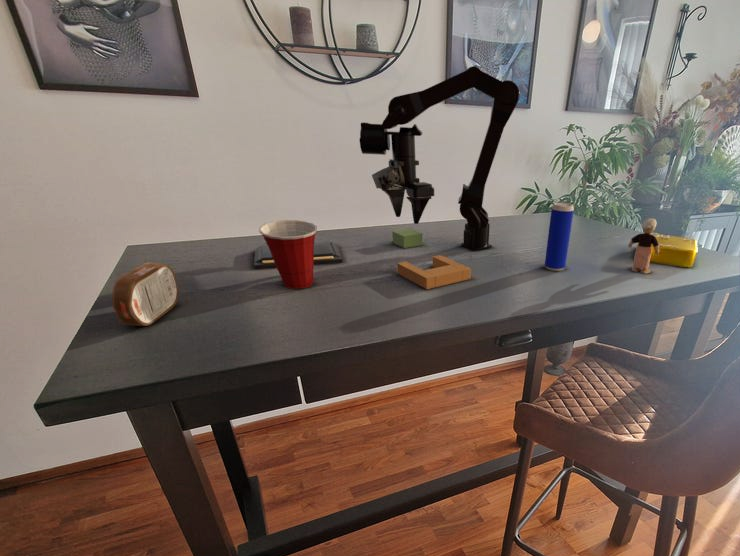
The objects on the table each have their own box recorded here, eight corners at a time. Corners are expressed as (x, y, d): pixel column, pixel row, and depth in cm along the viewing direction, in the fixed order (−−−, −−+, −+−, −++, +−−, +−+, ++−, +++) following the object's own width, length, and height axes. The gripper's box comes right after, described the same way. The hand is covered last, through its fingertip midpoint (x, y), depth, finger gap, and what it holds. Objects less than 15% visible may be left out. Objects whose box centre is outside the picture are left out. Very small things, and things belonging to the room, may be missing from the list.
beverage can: (564, 265, 112) (573, 203, 104) (565, 272, 108) (575, 207, 100) (544, 264, 113) (551, 201, 104) (544, 270, 108) (552, 205, 100)
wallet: (336, 238, 117) (342, 255, 105) (337, 245, 118) (343, 263, 106) (254, 242, 111) (250, 260, 99) (256, 250, 112) (252, 268, 100)
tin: (169, 299, 84) (153, 255, 79) (187, 299, 84) (172, 255, 79) (122, 335, 71) (100, 285, 67) (143, 335, 71) (122, 285, 67)
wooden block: (440, 265, 108) (440, 254, 107) (470, 279, 101) (470, 268, 99) (397, 273, 102) (397, 263, 100) (426, 289, 94) (426, 278, 93)
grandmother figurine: (654, 271, 112) (668, 219, 105) (653, 275, 109) (666, 222, 102) (624, 266, 114) (635, 214, 107) (621, 270, 111) (633, 217, 104)
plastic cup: (274, 297, 87) (260, 235, 81) (268, 279, 95) (255, 221, 88) (330, 289, 91) (321, 230, 85) (320, 273, 99) (311, 218, 93)
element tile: (633, 260, 119) (637, 242, 116) (638, 246, 131) (642, 230, 128) (692, 268, 115) (698, 250, 112) (692, 254, 126) (697, 237, 124)
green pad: (411, 240, 126) (410, 228, 124) (422, 245, 122) (422, 233, 121) (392, 243, 123) (392, 231, 121) (404, 248, 119) (403, 236, 117)
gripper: (357, 152, 112) (363, 216, 121) (394, 161, 100) (398, 231, 109) (395, 151, 118) (399, 212, 127) (435, 159, 106) (436, 226, 115)
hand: (406, 220), depth 119 cm, fingers open, 9 cm apart
